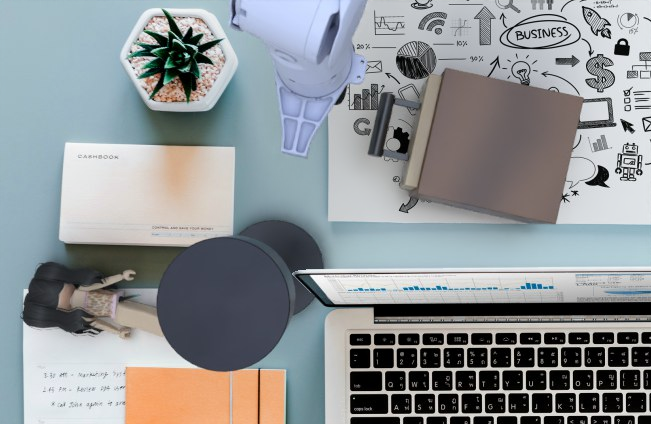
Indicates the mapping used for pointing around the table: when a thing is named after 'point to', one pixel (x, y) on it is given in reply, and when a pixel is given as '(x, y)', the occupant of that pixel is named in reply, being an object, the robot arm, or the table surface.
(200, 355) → the desk lamp
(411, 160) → the drawer
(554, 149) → the cabinet
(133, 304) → the toy figure
